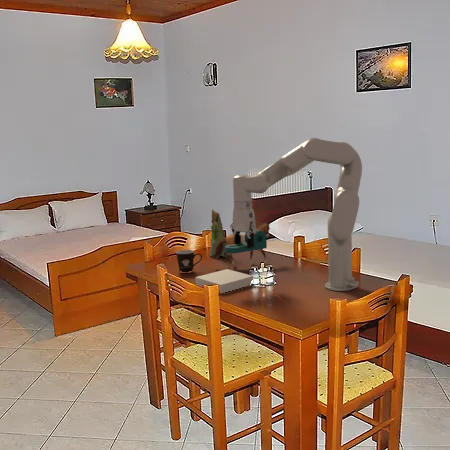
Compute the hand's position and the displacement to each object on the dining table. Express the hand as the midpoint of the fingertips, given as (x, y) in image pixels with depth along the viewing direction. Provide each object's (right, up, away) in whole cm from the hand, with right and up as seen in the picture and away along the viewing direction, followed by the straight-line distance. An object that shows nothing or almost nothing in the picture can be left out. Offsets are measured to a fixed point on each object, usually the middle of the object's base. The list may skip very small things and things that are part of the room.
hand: (244, 245), depth 236 cm
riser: (-8, -18, +8) cm, 21 cm away
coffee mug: (-25, -14, +34) cm, 45 cm away
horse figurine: (0, -12, +42) cm, 43 cm away
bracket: (0, -2, 0) cm, 2 cm away
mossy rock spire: (-12, -8, +64) cm, 66 cm away
